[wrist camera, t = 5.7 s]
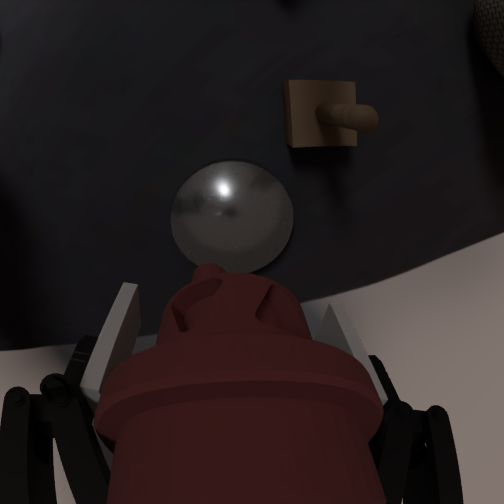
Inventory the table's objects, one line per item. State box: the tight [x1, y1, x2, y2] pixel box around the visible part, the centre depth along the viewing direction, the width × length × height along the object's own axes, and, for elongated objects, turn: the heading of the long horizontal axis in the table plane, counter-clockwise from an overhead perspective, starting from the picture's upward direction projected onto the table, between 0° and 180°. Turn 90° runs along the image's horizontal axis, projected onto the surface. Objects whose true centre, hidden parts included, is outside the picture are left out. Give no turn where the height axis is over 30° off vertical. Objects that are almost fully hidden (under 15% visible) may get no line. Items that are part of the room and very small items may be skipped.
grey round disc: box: [171, 159, 293, 273], centre depth 29 cm, size 12×12×2 cm
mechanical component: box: [94, 263, 387, 504], centre depth 10 cm, size 12×10×10 cm
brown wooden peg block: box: [282, 80, 379, 148], centre depth 20 cm, size 6×6×11 cm
